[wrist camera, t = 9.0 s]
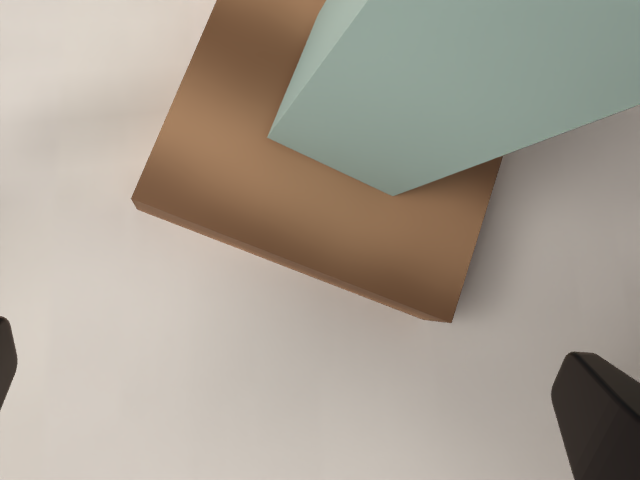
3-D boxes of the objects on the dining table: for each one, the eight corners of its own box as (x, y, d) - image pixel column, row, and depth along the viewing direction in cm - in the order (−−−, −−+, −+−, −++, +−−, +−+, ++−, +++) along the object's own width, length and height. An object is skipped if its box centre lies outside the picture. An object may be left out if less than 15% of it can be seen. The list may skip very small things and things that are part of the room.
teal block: (392, 196, 20) (789, 48, 7) (267, 137, 19) (484, -158, 6) (435, 77, 21) (854, -235, 8) (318, 14, 19) (598, -464, 7)
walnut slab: (417, 318, 23) (451, 323, 20) (138, 211, 20) (131, 198, 18) (497, 69, 25) (538, 40, 22) (252, -54, 22) (262, -106, 20)
